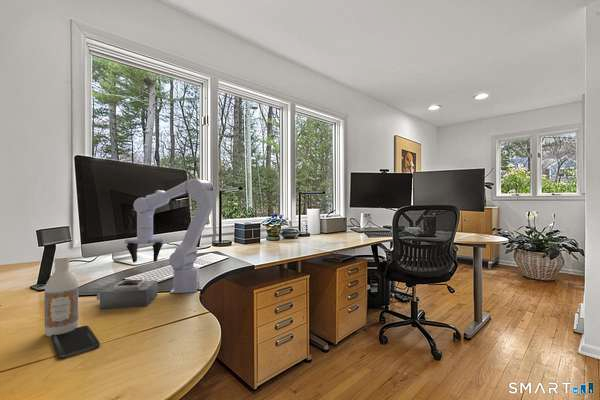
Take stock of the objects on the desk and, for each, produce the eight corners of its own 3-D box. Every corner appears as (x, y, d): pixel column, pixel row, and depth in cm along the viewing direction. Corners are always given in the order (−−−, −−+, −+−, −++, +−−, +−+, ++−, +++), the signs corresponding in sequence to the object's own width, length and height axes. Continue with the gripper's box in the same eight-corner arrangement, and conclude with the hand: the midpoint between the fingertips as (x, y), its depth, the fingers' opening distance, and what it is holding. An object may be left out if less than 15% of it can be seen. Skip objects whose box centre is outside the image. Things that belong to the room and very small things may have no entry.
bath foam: (42, 340, 71) (41, 261, 71) (47, 329, 77) (47, 256, 77) (76, 333, 75) (76, 257, 75) (79, 323, 81) (79, 253, 81)
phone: (58, 357, 62) (50, 334, 73) (58, 362, 62) (50, 338, 73) (101, 344, 68) (88, 324, 78) (101, 348, 68) (88, 328, 78)
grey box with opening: (157, 295, 104) (157, 277, 104) (146, 306, 94) (146, 286, 94) (106, 298, 102) (106, 279, 102) (89, 309, 91) (89, 289, 91)
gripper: (167, 226, 119) (167, 258, 119) (129, 227, 117) (129, 260, 117) (162, 228, 112) (162, 262, 112) (122, 228, 110) (122, 263, 110)
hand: (145, 261), depth 114 cm, fingers open, 7 cm apart
